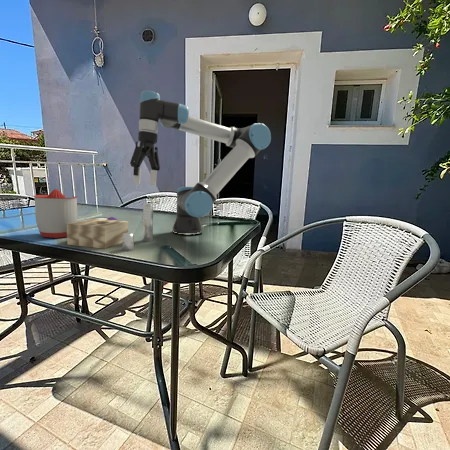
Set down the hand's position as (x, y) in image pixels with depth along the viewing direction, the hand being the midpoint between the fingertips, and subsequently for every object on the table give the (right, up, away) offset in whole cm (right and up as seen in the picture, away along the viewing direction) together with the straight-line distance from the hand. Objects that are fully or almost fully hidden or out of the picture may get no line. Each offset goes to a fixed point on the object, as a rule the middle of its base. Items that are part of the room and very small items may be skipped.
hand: (145, 184), depth 113 cm
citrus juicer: (-38, -22, +3) cm, 44 cm away
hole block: (-17, -24, -4) cm, 30 cm away
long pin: (0, -24, +3) cm, 24 cm away
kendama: (-25, -20, +18) cm, 37 cm away
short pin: (-3, -26, -13) cm, 29 cm away
